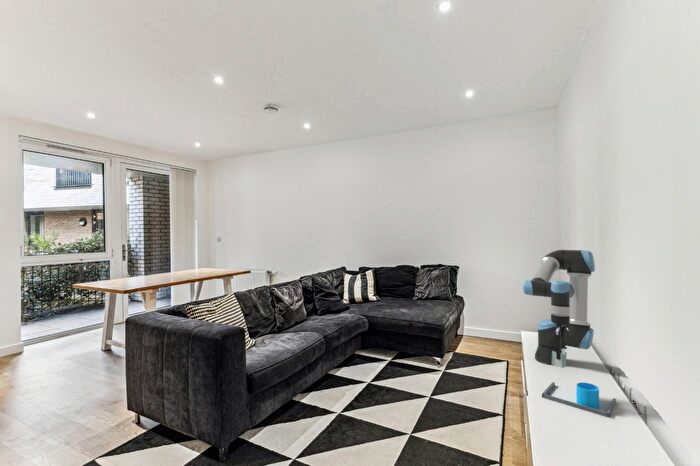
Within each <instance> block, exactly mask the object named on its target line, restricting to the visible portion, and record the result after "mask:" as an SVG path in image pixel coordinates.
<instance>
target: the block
mask: <svg viewBox="0 0 700 466" xmlns="http://www.w3.org/2000/svg"><path fill="white" fill-rule="evenodd" d="M567 353H568V352H567V351H565V352H564V351H562V367H560V366H558V367H560V368H565V367H566V366H567ZM551 366H555V352H554V351H553V352H552V365H551ZM555 367H556V366H555Z"/></svg>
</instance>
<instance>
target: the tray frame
mask: <svg viewBox="0 0 700 466" xmlns="http://www.w3.org/2000/svg"><path fill="white" fill-rule="evenodd" d="M555 386H556V382H554V381H553V382H551V383H550V384H549V386H547V388H546V389H545V390H544V391H542V393H541V398H543V399H546V400H549V401H553V402H557V403H559V404H563V405H565V406H570V407H573V408H576V409H579V410H582V411H587V412H590V413H593V414H595V415H599V416H602V417H605V418H610V416H611V415H612V412H613V410H614V408H615V405H616V403H617V398H614V397H613V398H612V400H611V402H610V404H609V407H608V409H607V411H605V410H600V409H594V408H591V407H587V406H584V405H580V404H577V402H573V401H569V400H567V399H563V398H559V397H556V396H554V395H549V394H550V393H551V391H552V390H553V389H554V388H555Z"/></svg>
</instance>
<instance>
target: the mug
mask: <svg viewBox="0 0 700 466" xmlns="http://www.w3.org/2000/svg"><path fill="white" fill-rule="evenodd" d="M575 386H576V388H575V389H576V390H575V391H576V403H577V404H580V405H584V406H587V407H591V408H594V409H597V410H600V387H598V386H597V385H595V384H593V383H588V382H577V383H576V385H575Z"/></svg>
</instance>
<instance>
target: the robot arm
mask: <svg viewBox="0 0 700 466" xmlns="http://www.w3.org/2000/svg"><path fill="white" fill-rule="evenodd" d="M595 266H596V265H595V259H594V255H593V253H592V251H590V250H582V249H577V250H576V249H557V250H553V251H552V252H549V253H547V254H546V255H544V257H542V259H541V261H540V266H539V268H538V269H537V271H536V273H535V275H534V276H533V277H532V279H531V280H529V279H528V280H525V281H524V282H523V284H522V291H523V294H525V295H527V296H532V297H533V296H535V297H544V298H550V304H551V305H550V306H549V308H550V312H551V314H550V319H543V320H540V321H539V322H538V324H537V343H538V344H537V348H536V350H535V352H534V359H535V361H537V362H539V363H541V364H545V363H546V365H549V364H551V366H553V365H552V352H553V351H554V352H555V367H559V366H560V368H563V367H562V351H564V352H566V350H567V349H568V347H571V348H577V349H579V350H580V349H582V350H588V349H591V346H592V343H593V339H594V332H595V331H594V328H592V327H591V324H590V322H588V299H589V298H588V296H589V295H588V293H589V291H588V289H589V285H588V284H589V277H591V276H592V273H594V272H595V270H596V268H595ZM560 270H563V271H566V274H567V275H568V277H569V282H568V281H565V280H552V282H551V279H552V277H553V276H554V273H555V272H557V271H560Z"/></svg>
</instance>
